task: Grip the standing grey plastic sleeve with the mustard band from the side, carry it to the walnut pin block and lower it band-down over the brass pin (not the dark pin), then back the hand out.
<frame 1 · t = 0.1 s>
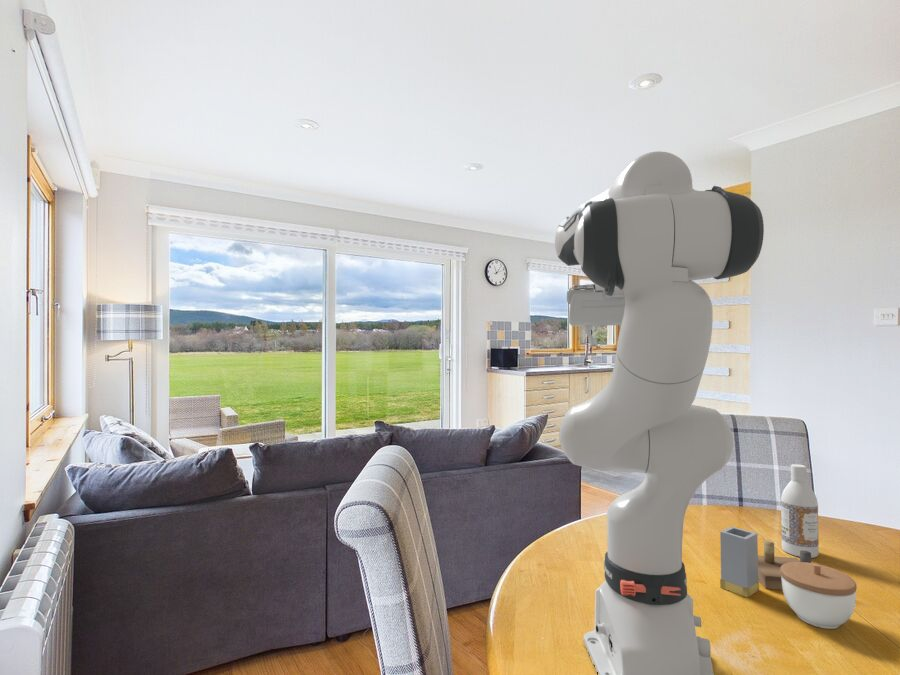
hand: (615, 346, 109), 48 cm above the table, tool pointing down, fingers open, 8 cm apart
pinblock: (781, 578, 101), on the table
sleeve: (739, 588, 97), on the table
bath foam: (799, 553, 114), on the table
lidded jar: (817, 620, 87), on the table
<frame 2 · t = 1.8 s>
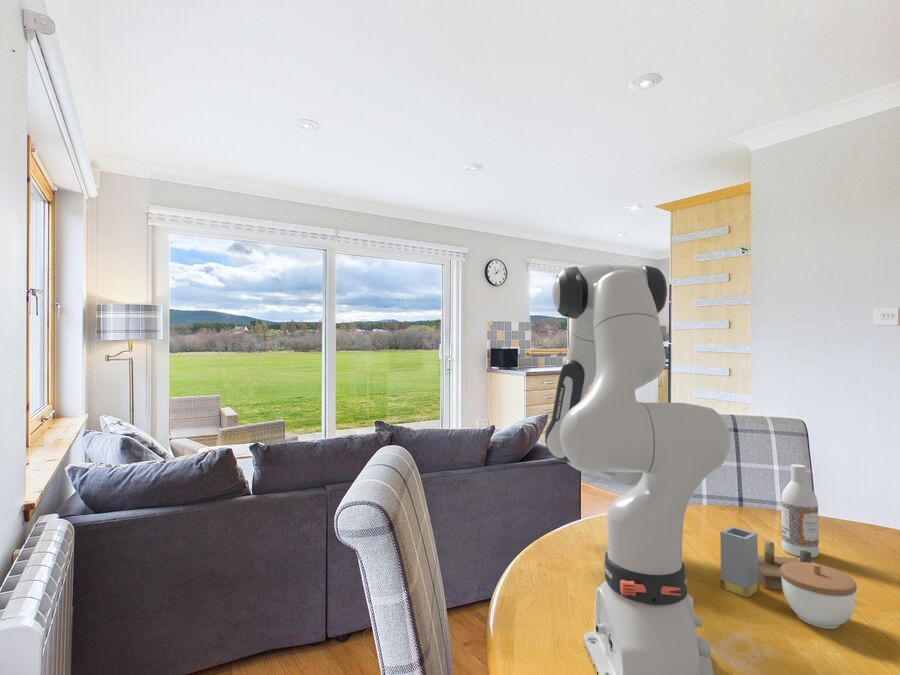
hand: (678, 475, 108), 20 cm above the table, tool horizontal, fingers open, 8 cm apart
nothing on the table moved.
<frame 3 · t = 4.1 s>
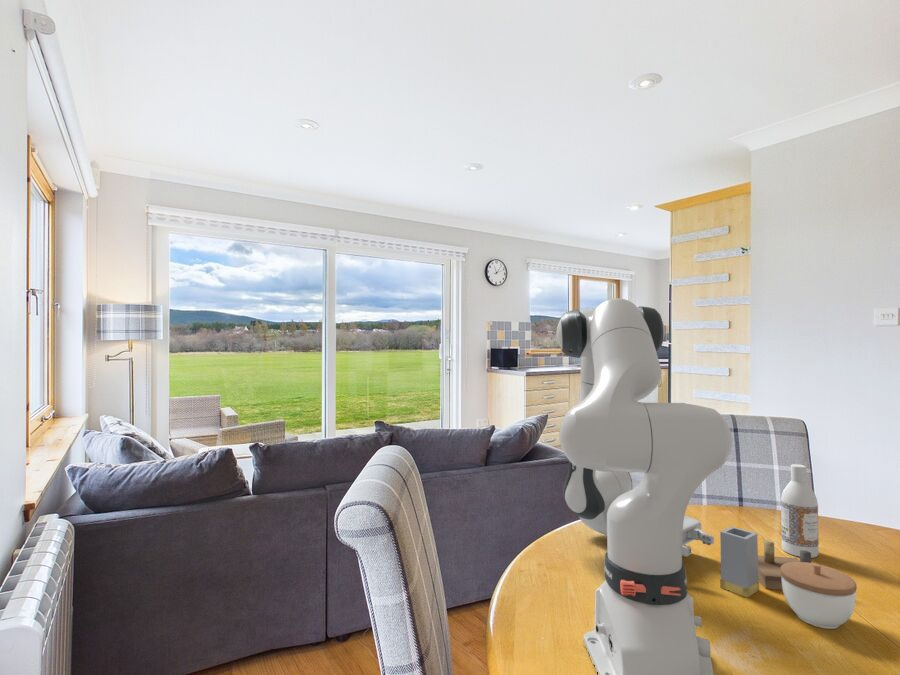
hand: (701, 546, 103), 6 cm above the table, tool horizontal, fingers open, 8 cm apart
nothing on the table moved.
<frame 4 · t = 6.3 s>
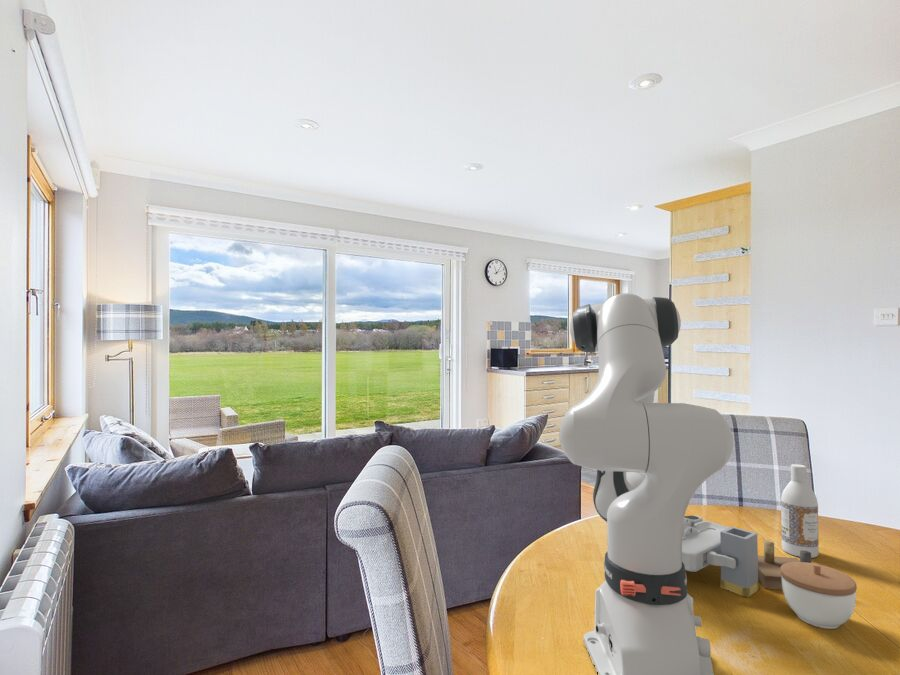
hand: (744, 559, 97), 6 cm above the table, tool horizontal, fingers closed on sleeve, 5 cm apart
sleeve: (739, 588, 97), on the table, touching gripper
everything else where it was.
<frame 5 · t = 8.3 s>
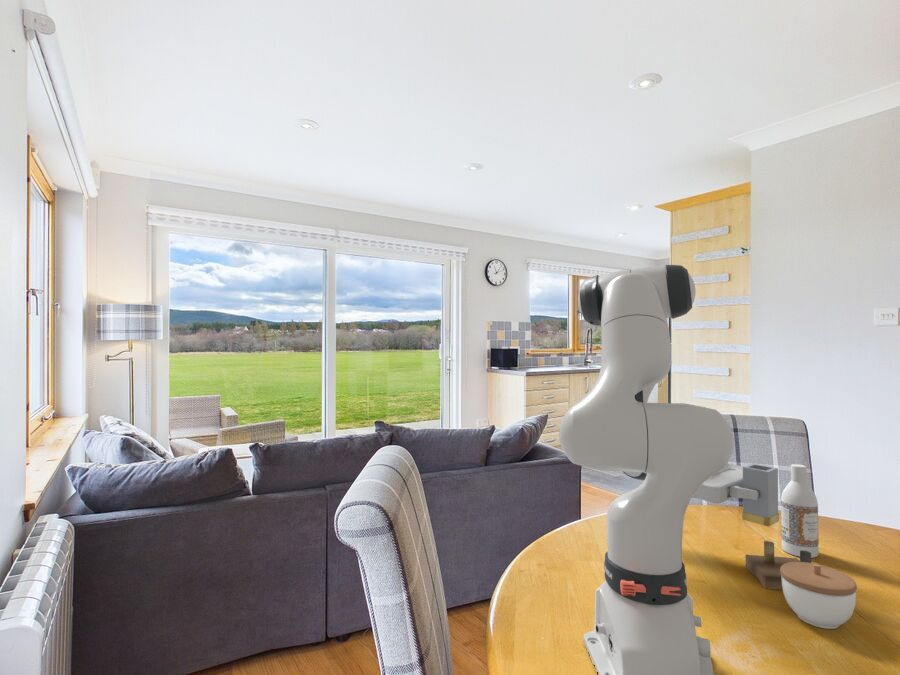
hand: (765, 492, 103), 17 cm above the table, tool horizontal, fingers closed on sleeve, 5 cm apart
sleeve: (760, 520, 103), point 11 cm above the table, touching gripper
everything else where it was.
when the fingers open (10 cm above the table, at t = 10.3 s): sleeve stays where it is, resting on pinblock.
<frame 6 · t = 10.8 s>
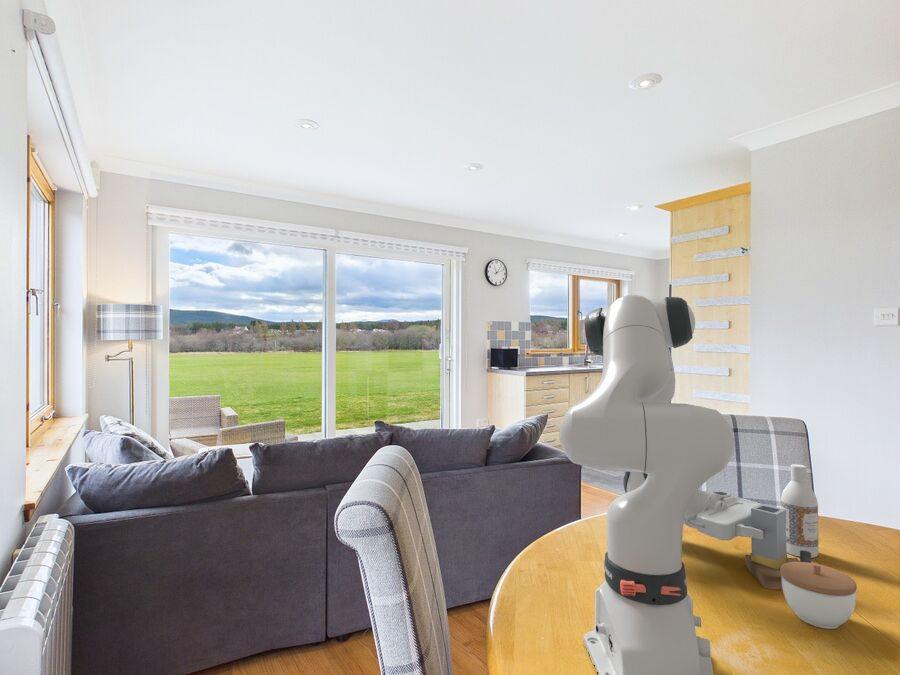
hand: (773, 529, 103), 9 cm above the table, tool horizontal, fingers open, 8 cm apart
sleeve: (769, 561, 104), point 2 cm above the table, touching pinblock
everything else where it was.
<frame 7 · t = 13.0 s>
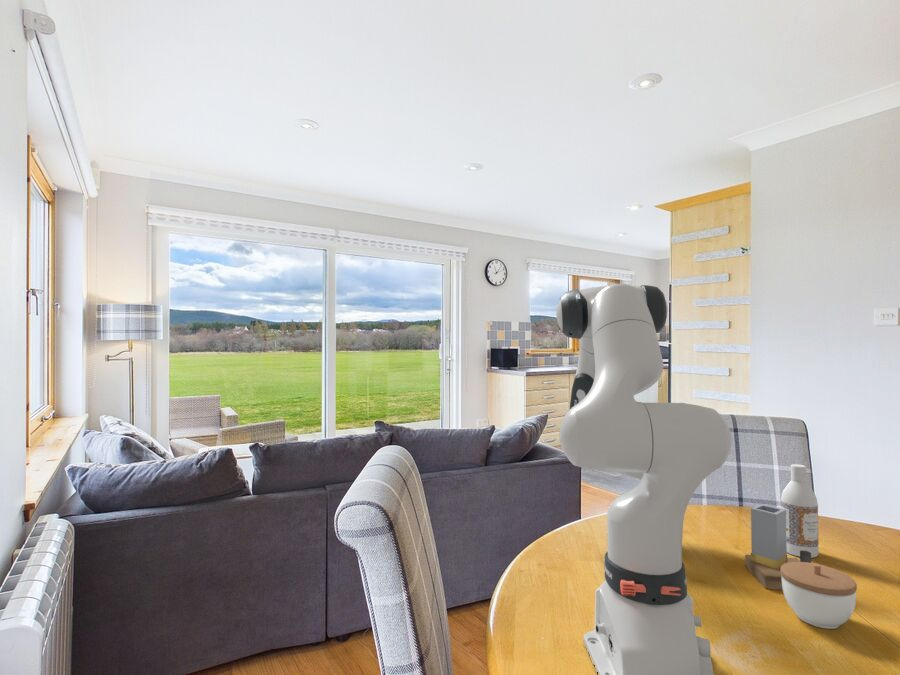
hand: (692, 471, 114), 19 cm above the table, tool horizontal, fingers open, 8 cm apart
nothing on the table moved.
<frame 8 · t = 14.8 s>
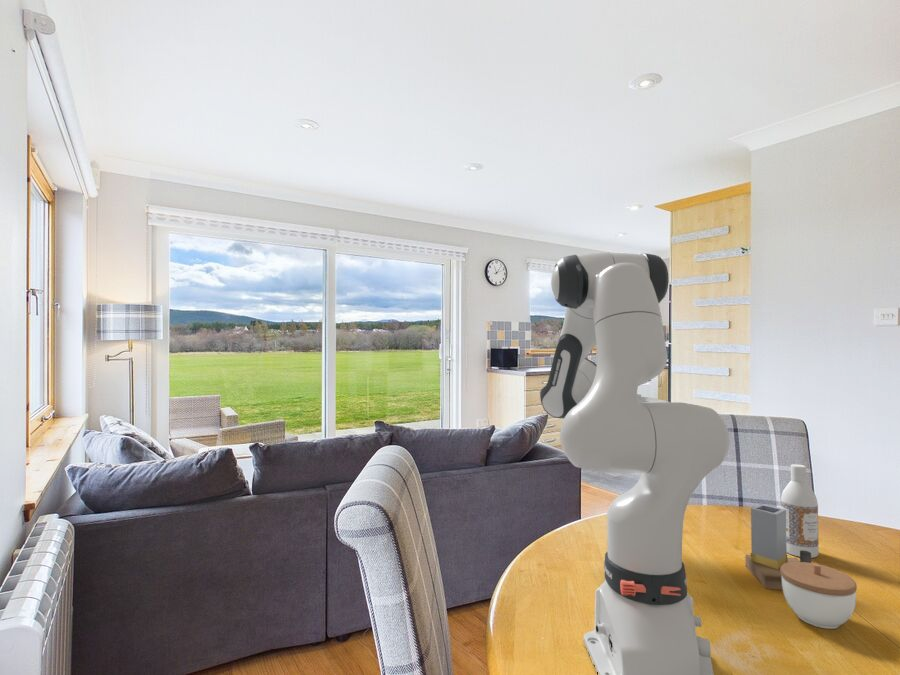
hand: (668, 414, 115), 32 cm above the table, tool horizontal, fingers open, 8 cm apart
nothing on the table moved.
at the end: sleeve 0.0 cm from the target spot on the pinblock, point 2.5 cm above the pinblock's base; sleeve tilted 0°; the gripper is holding nothing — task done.
